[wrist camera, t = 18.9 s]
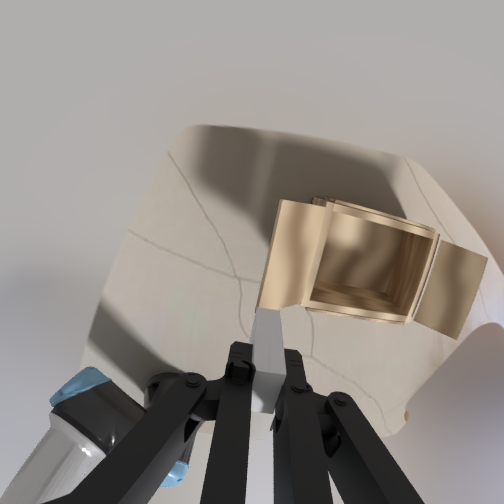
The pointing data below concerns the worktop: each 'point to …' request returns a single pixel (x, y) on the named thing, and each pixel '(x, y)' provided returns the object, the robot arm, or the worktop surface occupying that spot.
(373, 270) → the carton
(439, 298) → the flap
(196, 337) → the worktop surface
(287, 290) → the flap
